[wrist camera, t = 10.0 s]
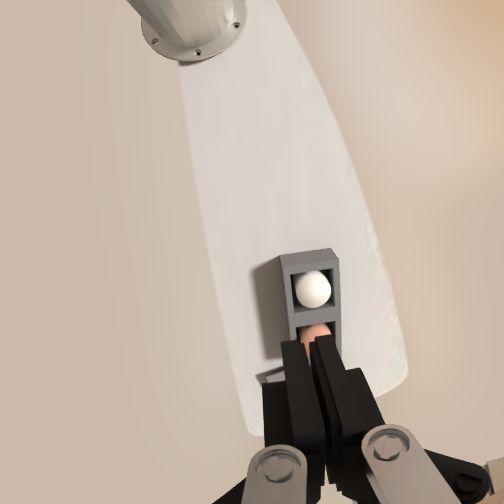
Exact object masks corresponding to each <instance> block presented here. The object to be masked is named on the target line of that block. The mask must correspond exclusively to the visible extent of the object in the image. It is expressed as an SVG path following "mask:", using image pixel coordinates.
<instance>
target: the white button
mask: <svg viewBox="0 0 504 504" xmlns="http://www.w3.org/2000/svg"><path fill="white" fill-rule="evenodd" d="M293 285H294V288H295V291H296V295H297V298H298V300H299V302H300V303H301V304H302V305H304V306H306V307H309V308H316V307H319V306H321V305H323V304H324V303H325V302H326V301H327V300H328V299H329V297H330V294H331V287H330V284H329V282H328V281H327V279H326V277H325V275H324V273H323V272H322V270H317V271H310V272H303V273H296V274H294V275H293Z"/></svg>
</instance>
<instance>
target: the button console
mask: <svg viewBox="0 0 504 504" xmlns="http://www.w3.org/2000/svg"><path fill="white" fill-rule="evenodd" d="M280 262H281V270H282V278H283V287H284V295H285V304H286V312H287V321H288V330H289V339H290V340H296V339H297V338H296V327H300V326H307V325H313V324H319V323H325V322H329V323H330V332H331V335H332V337H333V339H334V342H335V344H336V347H337V349H338V352H339V354H340V357H341V296H340V272H339V258H338V257H337V256H336V254H335V253H334V252H333V250H332V249H331V248H327V249H320V250H313V251H306V252H299V253H292V254H285V255H280ZM323 269H327V281H328V282H329V284H330V287H331V294H330V297H329V299H328V300H327V301H326V302H325V303H324V304H323V305H321V306H319V307H316V308H309V307H306V306H304V305H302V304H301V303H300V302H299V300H298V298H297V297H295V298H292V289H291V279H290V274H296V273H303V272H310V271H317V270H323ZM299 343H301V341H300V342H298V344H299ZM308 360H309V363H310V358H309V357H308Z"/></svg>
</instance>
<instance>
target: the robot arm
mask: <svg viewBox="0 0 504 504" xmlns="http://www.w3.org/2000/svg"><path fill="white" fill-rule="evenodd" d="M127 1H128V2H129V4H130V5H131V6H132V7H133V8H134V9H135V10H136V11H137V12H138V13H139V14H140V15H141V17H142V18H141V28H142V32H143V35H144V37H145V40H146V42H147V43H148V44H149V45H150V46H151V47H152V48H153V49H154V50H155V51H156V52H157V53H159V54H160V55H162V56H164V57H166V58H169V59H172V60H177V61H198V60H203V59H206V58H210V57H213V56H215V55H217V54H219V53H221V52H222V51H224V50H225V49H227V48H228V47H229V46H231V45H232V44H233V43H234V42H235V41H236V40H237V38H238V37H239V35H240V34H241V33H242V31H243V28H244V26H245V24H246V18H247V6H246V1H245V0H127ZM235 26H238V27H239V28H235ZM156 42H158V43H157V44H156V45H155V43H156ZM197 53H201V55H199V56H197ZM281 350H282V358H283V366H284V374H285V380H284V381H277V382H269V383H262V397H263V418H264V440H265V448H264V449H262V450H260V451H259V452H257V453H256V454H255V455H254V457H253V458H252V459H251V461H250V464H249V467H248V472H247V477H246V478H245V479H244V480H242V481H241V482H240V483H238V484H237V485H236V486H235V487H233V488H232V489H231V490H230V491H228V492H227V493H226V494H224V495H223V496H222V497H220V498H219V499H218V500H216V501H215V502H214V503H212V504H316V503H317V502H318V501H319V500H320V498H321V486H324V480H325V465H326V471H327V476H328V481H329V484H335V483H336V487H337V491H342V495H344V496H346V497H347V498H350V499H352V502H353V504H504V457H503V458H499V459H496V460H492V461H488V462H487V463H486V465H483V466H479V465H477V464H474V463H470V462H466V461H463V460H459V459H455V458H452V457H449V456H445V455H442V454H439V453H435V452H432V451H429V450H426V449H423V448H422V447H421V445H420V444H419V443H418V441H417V440H416V438H415V437H414V435H413V434H412V433H411V432H410V431H409V430H408V429H406V428H404V427H402V426H399V425H394V424H385V422H384V420H383V418H382V415H381V413H380V411H379V408H378V406H377V404H376V401H375V399H374V397H373V394H372V392H371V390H370V387H369V385H368V383H367V381H366V378H365V376H364V374H363V372H362V370H361V368H354V369H349V370H345V367H344V365H343V362H342V360H341V357H340V354H339V352H338V349H337V347H336V344H335V342H334V339H333V337H332V335H331V334H327V335H322V336H316V337H314V341H312V342H309V355H310V364H309V360H308V356H307V352H306V348H305V345H304V343H299V344H298V342H297V339H296V340H290V341H283V342H281Z"/></svg>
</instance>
